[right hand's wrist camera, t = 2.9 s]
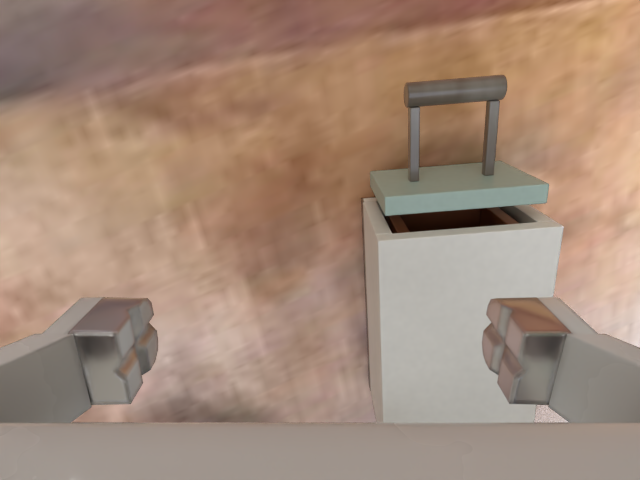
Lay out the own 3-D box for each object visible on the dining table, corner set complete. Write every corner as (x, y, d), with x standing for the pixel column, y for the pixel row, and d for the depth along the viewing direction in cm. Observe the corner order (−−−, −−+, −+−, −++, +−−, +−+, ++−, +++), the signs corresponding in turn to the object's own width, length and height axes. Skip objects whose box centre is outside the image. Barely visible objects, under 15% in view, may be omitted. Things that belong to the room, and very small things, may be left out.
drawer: (366, 83, 28) (382, 87, 22) (508, 71, 28) (564, 72, 22) (375, 358, 37) (389, 416, 31) (484, 349, 37) (520, 407, 30)
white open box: (361, 197, 32) (377, 240, 24) (500, 186, 32) (564, 226, 24) (368, 383, 39) (384, 465, 31) (484, 374, 39) (529, 454, 31)
